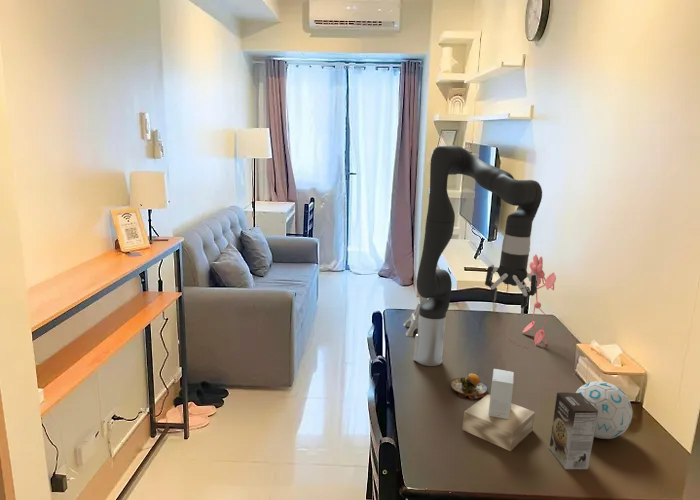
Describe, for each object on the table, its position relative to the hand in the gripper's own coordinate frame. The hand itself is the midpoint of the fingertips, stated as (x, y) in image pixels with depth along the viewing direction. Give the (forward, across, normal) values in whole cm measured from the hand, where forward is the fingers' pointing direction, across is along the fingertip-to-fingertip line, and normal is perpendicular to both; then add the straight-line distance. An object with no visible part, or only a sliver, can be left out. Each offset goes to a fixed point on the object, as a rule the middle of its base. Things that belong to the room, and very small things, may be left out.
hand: (508, 304), depth 155 cm
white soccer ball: (+31, +29, -2) cm, 42 cm away
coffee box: (+31, +24, -19) cm, 43 cm away
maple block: (+31, +6, -16) cm, 36 cm away
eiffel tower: (+33, -43, +40) cm, 67 cm away
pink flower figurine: (+32, -5, +58) cm, 66 cm away
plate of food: (+32, -9, +2) cm, 33 cm away
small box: (+26, +5, -16) cm, 31 cm away
